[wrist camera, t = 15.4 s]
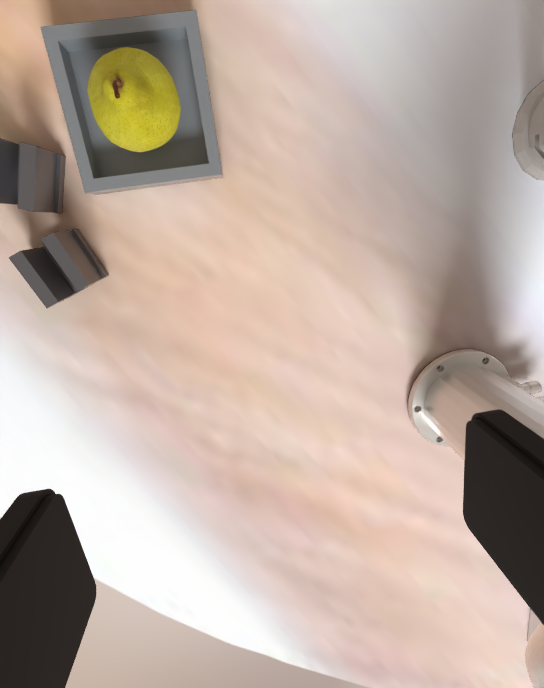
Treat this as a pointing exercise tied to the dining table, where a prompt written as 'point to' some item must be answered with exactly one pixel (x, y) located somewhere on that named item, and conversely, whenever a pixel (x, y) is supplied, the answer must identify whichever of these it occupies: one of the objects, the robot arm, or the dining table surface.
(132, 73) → the fruit
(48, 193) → the clip
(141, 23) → the grey square tray
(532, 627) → the tray
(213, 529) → the dining table surface
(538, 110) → the french press
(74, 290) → the clip
